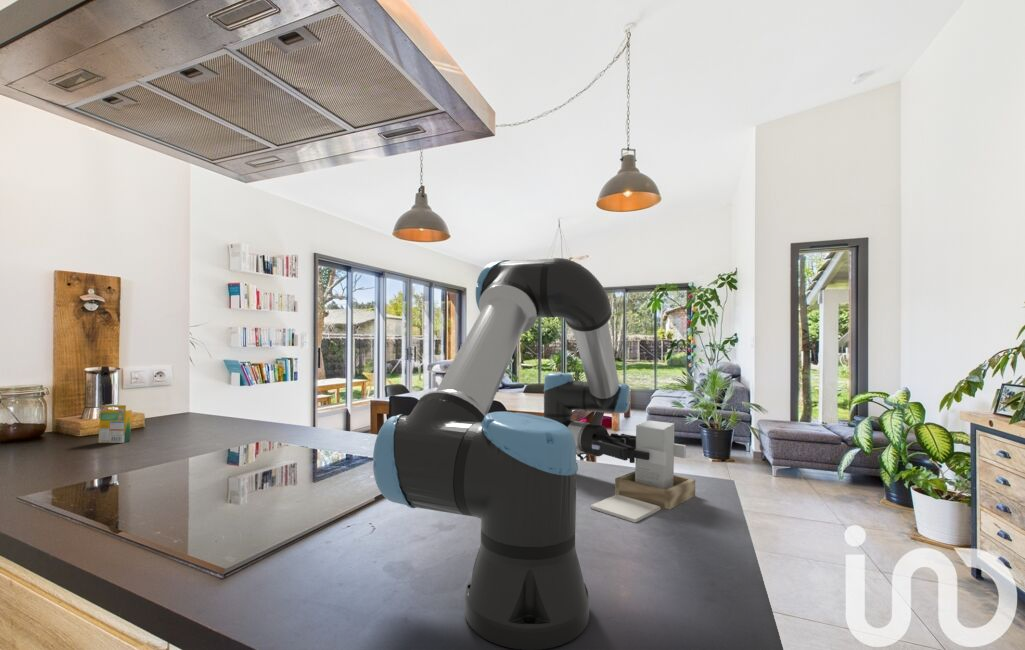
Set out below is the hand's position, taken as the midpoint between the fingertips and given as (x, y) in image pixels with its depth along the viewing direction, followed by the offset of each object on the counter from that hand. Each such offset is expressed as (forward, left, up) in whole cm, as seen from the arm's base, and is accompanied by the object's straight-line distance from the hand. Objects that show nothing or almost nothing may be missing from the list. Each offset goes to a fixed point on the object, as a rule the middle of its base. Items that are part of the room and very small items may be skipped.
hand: (675, 455), depth 97 cm
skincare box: (0, +5, -10) cm, 11 cm away
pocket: (0, +5, -9) cm, 11 cm away
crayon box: (-79, +145, -10) cm, 165 cm away
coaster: (-12, +5, -9) cm, 16 cm away
